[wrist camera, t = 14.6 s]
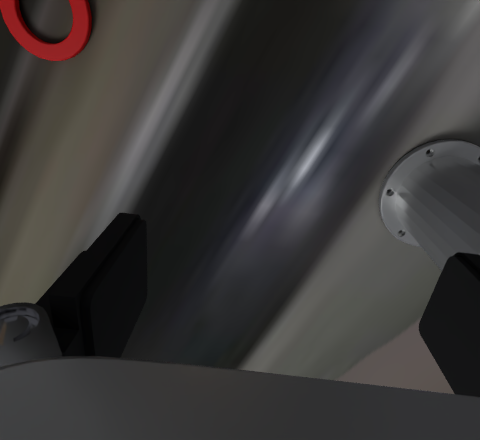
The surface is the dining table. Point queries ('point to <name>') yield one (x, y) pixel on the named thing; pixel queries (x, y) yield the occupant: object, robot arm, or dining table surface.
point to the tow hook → (54, 52)
